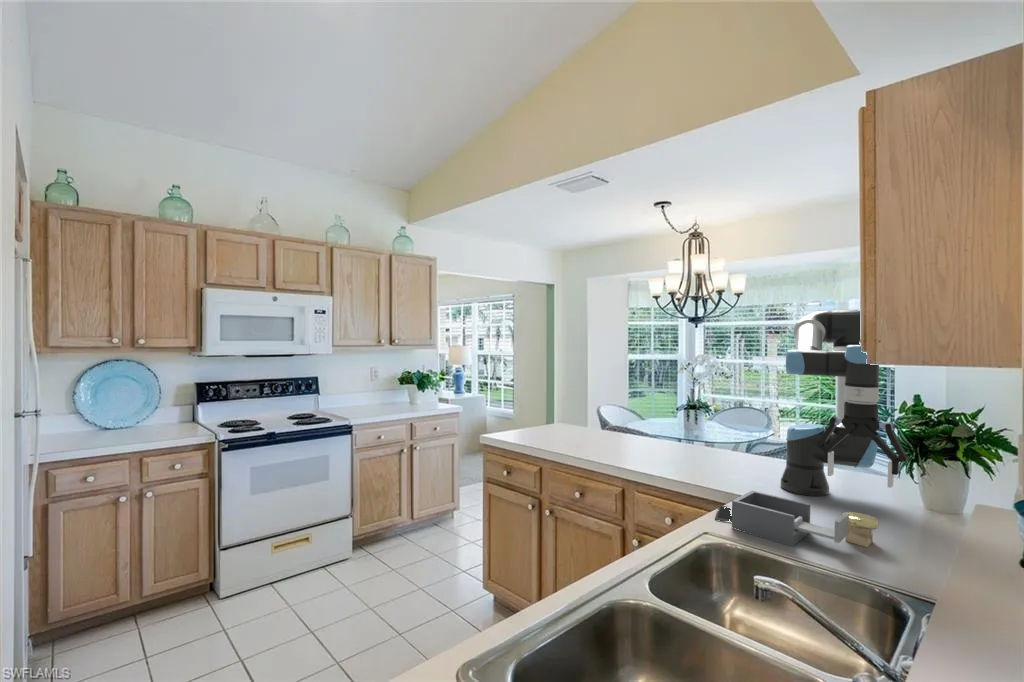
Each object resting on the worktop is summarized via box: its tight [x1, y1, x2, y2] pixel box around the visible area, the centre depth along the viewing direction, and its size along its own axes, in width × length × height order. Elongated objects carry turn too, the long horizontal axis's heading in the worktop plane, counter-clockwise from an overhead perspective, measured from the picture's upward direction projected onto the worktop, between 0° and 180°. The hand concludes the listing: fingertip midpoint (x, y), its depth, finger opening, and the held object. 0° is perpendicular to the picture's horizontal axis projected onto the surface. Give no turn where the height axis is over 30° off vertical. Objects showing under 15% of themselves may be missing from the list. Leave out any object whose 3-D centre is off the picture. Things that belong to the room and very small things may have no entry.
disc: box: [841, 511, 879, 530], centre depth 134 cm, size 8×8×2 cm
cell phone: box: [714, 505, 732, 522], centre depth 153 cm, size 7×14×1 cm, turn 152°
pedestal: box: [845, 525, 874, 548], centre depth 134 cm, size 5×5×5 cm
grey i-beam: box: [794, 512, 849, 544], centre depth 133 cm, size 9×14×5 cm, turn 42°
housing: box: [731, 490, 812, 547], centre depth 142 cm, size 14×16×8 cm
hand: (859, 480), depth 134 cm, fingers open, 13 cm apart
